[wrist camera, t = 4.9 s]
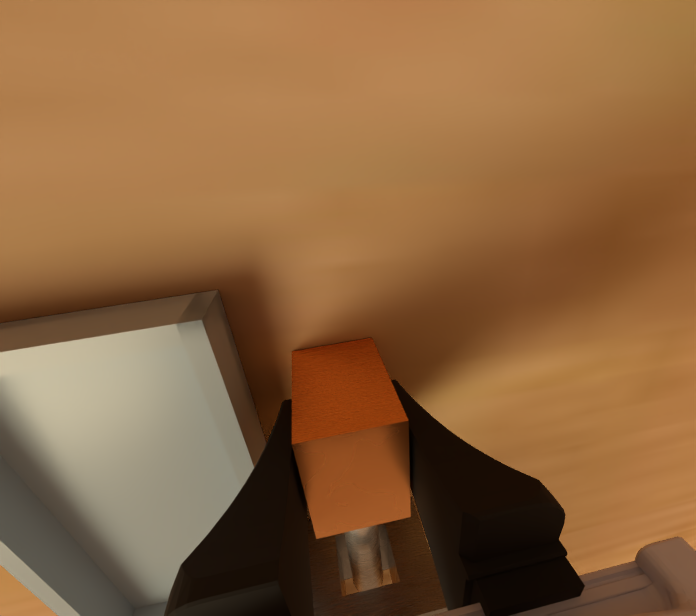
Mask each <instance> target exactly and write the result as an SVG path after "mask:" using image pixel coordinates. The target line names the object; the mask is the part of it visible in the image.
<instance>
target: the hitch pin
mask: <svg viewBox="0 0 696 616" xmlns="http://www.w3.org/2000/svg"><path fill="white" fill-rule="evenodd" d="M292 447H293V451H294V455H295V459H296V462H297V466H298V470H299V474H300V478H301V482H302V485H303V489H304V493H305V497H306V501H307V505H308V509H309V512H310V516H311V520H312V524H313V528H314V532H315V535H316V539H319V538H323V537H327V536H332V535H336V534H340V533H344V534H345V539H346V545H347V550H348V556H349V561H350V566H351V572H352V577H353V582H354V585H355V587H356V588H357V590H358V591H360V592H362V591H366V590H369V589H373V588H377V587H381V584H382V581H383V571H382V561H381V551H380V541H379V531H378V524H383V523H387V522H391V521H395V520H400V519H404V518H408V517H411V509H410V462H409V420H408V418H407V416H406V413H405V411H404V409H403V407H402V404H401V402H400V400H399V398H398V395H397V393H396V391H395V389H394V386H393V384H392V382H391V380H390V377H389V375H388V373H387V371H386V368H385V366H384V364H383V362H382V359H381V357H380V355H379V353H378V350H377V348H376V346H375V344H374V341H373V339H372V338H367V339H361V340H355V341H350V342H344V343H338V344H332V345H327V346H321V347H315V348H309V349H304V350H298V351H292Z"/></svg>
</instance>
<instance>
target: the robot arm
mask: <svg viewBox="0 0 696 616" xmlns="http://www.w3.org/2000/svg"><path fill="white" fill-rule="evenodd" d="M391 382H392V384H393V386H394V389H395V391H396V393H397V395H398V398H399V400H400V402H401V404H402V407H403V409H404V411H405V413H406V416H407V418H408V420H409V462H410V488H411V490H412V493H413V496H414V499H415V502H416V505H417V508H418V511H419V515H420V518H421V521H422V524H423V527H424V531H425V534H426V537H427V540H428V544H429V547H430V550H431V554H432V557H433V561H434V564H435V567H436V571H437V574H438V578H439V581H440V585H441V588H442V592H443V595H444V599H445V602H446V606H447V609H448V611H446V612H442V613H439V614H435V615H431V616H696V551H695V550H694V549H693V548H692V547H691V546H690V545H689V544H688V543H687V542H686V541H685V540H684V539H683V538H682V537H674V538H670V539H666V540H662V541H658V542H655V543H651V544H648V545H646V546H644V547H643V548H641V549H640V550H639V551H638V553H637V555H636V558H635V561H632V562H628V563H624V564H621V565H617V566H613V567H610V568H606V569H602V570H598V571H595V572H591V573H587V574H584V575H580V576H578V575H577V573H576V572H575V570H574V569H573V567H572V566H571V564H570V563H569V561H568V560H567V558H566V557H565V556H567V551H566V549H565V548H564V547H563V545H562V544H561V542H560V541H559V537H560V534H561V531H562V528H563V525H564V521H565V512H564V509H563V508H562V507H561V505H560V504H559V503H558V502H557V500H556V499H555V498H554V496H553V495H552V494H551V493H550V492H549V491H548V489H547V488H546V487H545V486H544V485H543V484H542V483H541V482H540V481H539V480H537V479H535V478H533V477H531V476H528V475H526V474H524V473H522V472H519V471H517V470H515V469H513V468H511V467H508V466H507V465H505V464H503V463H501V462H499V461H497V460H495V459H493V458H491V457H489V456H488V455H486V454H484V453H483V452H481V451H479V450H478V449H476V448H474V447H473V446H471V445H469V444H468V443H466V442H465V441H463V440H462V439H460V438H459V437H458V436H456V435H455V434H453V433H452V432H451V431H449V430H448V429H447V428H446V427H444V426H443V425H442V424H441V423H439V422H438V421H437V420H436V419H435V418H433V417H432V416H431V415H430V414H429V413H428V412H427V411H426V410H424V409H423V408H422V407H421V406H420V405H419V404H418V403H417V402H416V401H415V400H414V399H413V398H412V397H411V396H410V395H409V394H408V393H407V392H406V391H405V390H404V389H403V387H402V386H401V385H400V384H399V383H398V382H397V381H396V380H391ZM164 616H314V607H313V594H312V582H311V569H310V555H309V541H308V526H307V501H306V497H305V493H304V489H303V485H302V482H301V478H300V474H299V470H298V466H297V462H296V459H295V455H294V451H293V447H292V399H289V400H284V401H283V402H282V405H281V408H280V411H279V414H278V417H277V420H276V423H275V425H274V428H273V430H272V432H271V435H270V437H269V439H268V442H267V444H266V446H265V448H264V450H263V452H262V454H261V456H260V458H259V460H258V462H257V463H256V465H255V467H254V469H253V471H252V472H251V474H250V476H249V477H248V479H247V481H246V482H245V484H244V485H243V487H242V488H241V490H240V491H239V493H238V494H237V496H236V497H235V499H234V500H233V502H232V503H231V505H230V506H229V507H228V509H227V510H226V511H225V513H224V514H223V515H222V517H221V518H220V519H219V520H218V522H217V523H216V524H215V526H214V527H213V528H212V529H211V531H210V532H209V533H208V534H207V536H206V537H205V538H204V539H203V540H202V541H201V542H200V544H199V545H198V546H197V547H196V548H195V549H194V550H193V552H192V553H191V554H190V555H189V556H188V557H187V558H186V559H185V561H184V562H183V563H182V564H181V565H180V568H179V570H178V573H177V576H176V578H175V581H174V583H173V586H172V589H171V591H170V595H169V598H168V602H167V605H166V609H165V613H164Z"/></svg>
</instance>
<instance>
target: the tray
mask: <svg viewBox="0 0 696 616" xmlns="http://www.w3.org/2000/svg"><path fill="white" fill-rule="evenodd" d="M265 446H266V441H265V437H264V434H263V431H262V428H261V425H260V421H259V418H258V415H257V412H256V409H255V406H254V402H253V399H252V396H251V393H250V390H249V386H248V383H247V380H246V377H245V374H244V370H243V367H242V364H241V361H240V358H239V354H238V351H237V348H236V345H235V342H234V339H233V335H232V332H231V329H230V326H229V323H228V319H227V316H226V313H225V310H224V307H223V303H222V300H221V297H220V294H219V291H218V290H214V291H207V292H201V293H194V294H188V295H181V296H175V297H168V298H162V299H155V300H148V301H142V302H135V303H129V304H122V305H116V306H109V307H103V308H96V309H90V310H83V311H77V312H70V313H64V314H57V315H51V316H44V317H38V318H31V319H25V320H18V321H12V322H5V323H0V565H1V566H2V567H4V568H5V569H6V570H7V571H8V572H9V573H10V574H11V575H13V576H14V577H15V578H16V579H17V580H18V581H19V582H21V583H22V584H23V585H24V586H25V587H26V588H27V589H29V590H30V591H31V592H32V593H33V594H34V595H35V596H36V597H38V598H39V599H40V600H41V601H42V602H43V603H44V604H46V605H47V606H48V607H49V608H50V609H51V610H52V611H53V612H55V613H56V614H57V615H58V616H164V613H165V609H166V605H167V602H168V598H169V595H170V591H171V589H172V586H173V583H174V581H175V578H176V576H177V573H178V570H179V568H180V565H181V564H182V563H183V562H184V561H185V559H186V558H187V557H188V556H189V555H190V554H191V553H192V552H193V550H194V549H195V548H196V547H197V546H198V545H199V544H200V542H201V541H202V540H203V539H204V538H205V537H206V536H207V534H208V533H209V532H210V531H211V529H212V528H213V527H214V526H215V524H216V523H217V522H218V520H219V519H220V518H221V517H222V515H223V514H224V513H225V511H226V510H227V509H228V507H229V506H230V505H231V503H232V502H233V500H234V499H235V497H236V496H237V494H238V493H239V491H240V490H241V488H242V487H243V485H244V484H245V482H246V481H247V479H248V477H249V476H250V474H251V472H252V471H253V469H254V467H255V465H256V463H257V462H258V460H259V458H260V456H261V454H262V452H263V450H264V448H265Z"/></svg>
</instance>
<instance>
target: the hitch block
mask: <svg viewBox="0 0 696 616" xmlns="http://www.w3.org/2000/svg"><path fill="white" fill-rule="evenodd" d="M410 509H411V517H408V518H404V519H400V520H395V521H391V522H387V523H383V524H378V531H379V541H380V551H381V561H382V570H385V569H389V570H390V574H391V578H392V583H393V584H389V585H385V586H381V587H377V588H373V589H369V590H366V591H362V592H358V593H354V594H350V595H346V589H345V581H344V580H345V579H349V578H353V577H352V572H351V566H350V561H349V556H348V550H347V545H346V539H345V534H344V533H340V534H336V535H332V536H327V537H323V538H319V539H316V535H315V532H314V528H313V524H312V520H309V521H307V526H308V541H309V555H310V569H311V582H312V594H313V607H314V616H431V615H435V614H439V613H442V612H446V611H448V609H447V606H446V602H445V599H444V595H443V592H442V588H441V585H440V581H439V578H438V574H437V571H436V567H435V564H434V561H433V558H432V555H431V552H430V549H429V546H428V543H427V541H426V538H425V535H424V532H423V529H422V526H421V524H420V521H419V518H418V515H417V512H416V509H415V506H414V504H413V501H412V498H411V497H410Z"/></svg>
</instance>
